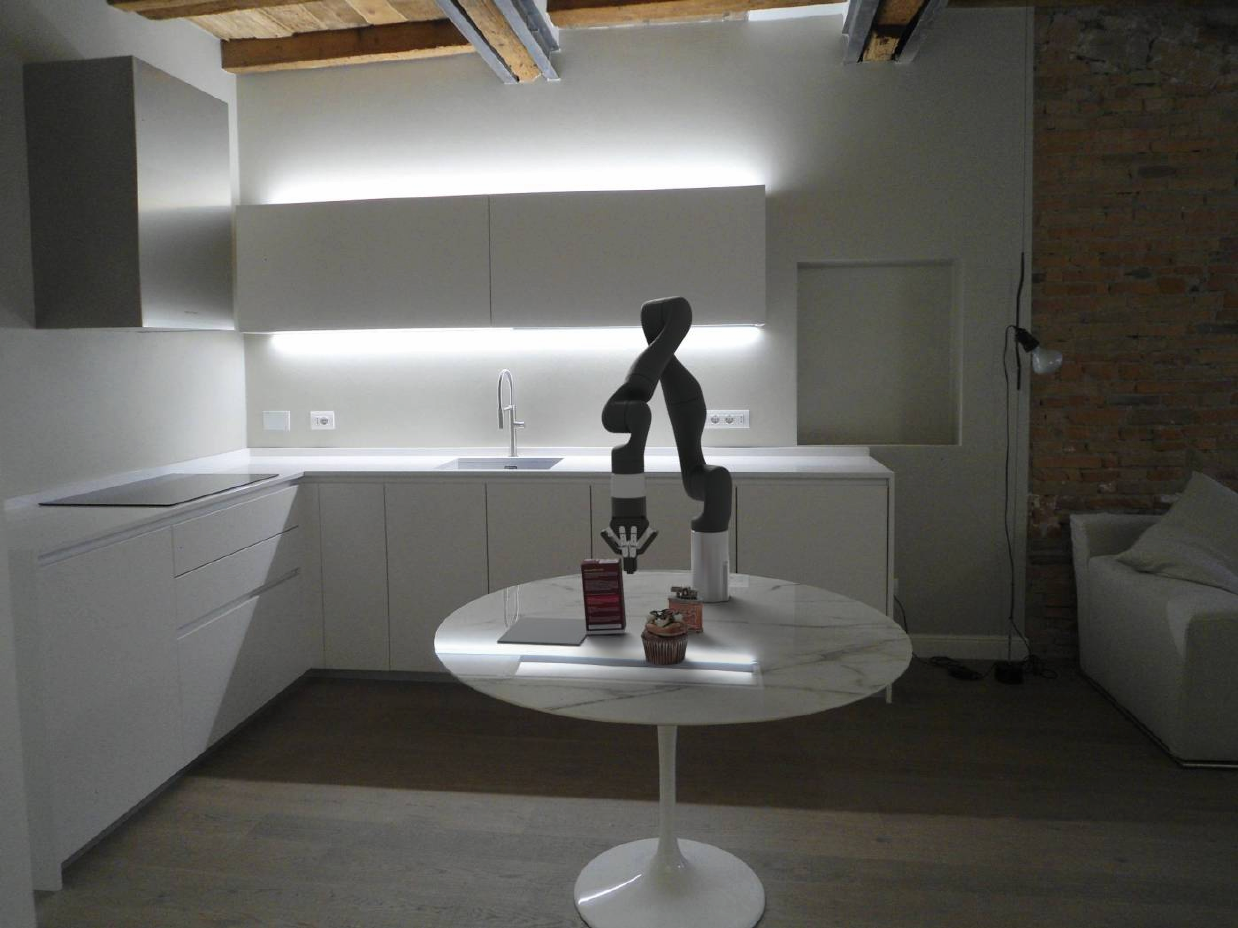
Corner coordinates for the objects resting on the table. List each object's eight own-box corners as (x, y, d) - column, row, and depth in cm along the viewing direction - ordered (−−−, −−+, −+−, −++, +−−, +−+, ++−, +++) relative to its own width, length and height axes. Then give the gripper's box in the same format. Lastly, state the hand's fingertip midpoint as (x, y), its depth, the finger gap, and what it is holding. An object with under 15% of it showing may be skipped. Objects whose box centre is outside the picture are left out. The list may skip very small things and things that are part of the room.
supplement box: (626, 626, 207) (622, 556, 204) (624, 633, 202) (620, 562, 200) (588, 627, 208) (583, 558, 205) (585, 635, 203) (580, 563, 201)
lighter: (705, 630, 205) (705, 586, 204) (700, 634, 202) (699, 589, 201) (671, 626, 209) (670, 583, 208) (665, 630, 206) (665, 586, 205)
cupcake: (699, 658, 187) (698, 609, 186) (664, 670, 181) (663, 619, 179) (665, 647, 194) (665, 600, 193) (631, 658, 188) (630, 610, 187)
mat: (596, 621, 214) (596, 619, 214) (579, 645, 197) (579, 643, 197) (521, 618, 218) (521, 616, 217) (497, 642, 200) (497, 640, 200)
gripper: (661, 491, 202) (663, 570, 204) (601, 491, 204) (603, 569, 206) (657, 496, 195) (658, 577, 197) (594, 496, 197) (597, 577, 199)
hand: (630, 573), depth 201 cm, fingers closed
